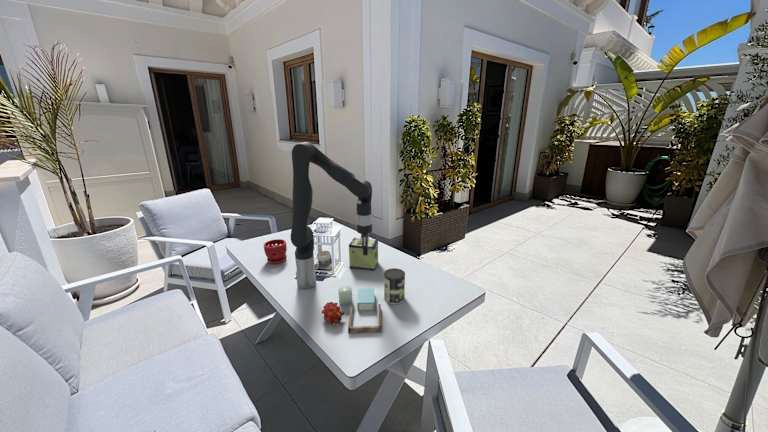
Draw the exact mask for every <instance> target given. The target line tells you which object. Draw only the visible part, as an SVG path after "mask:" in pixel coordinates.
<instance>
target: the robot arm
mask: <svg viewBox="0 0 768 432" xmlns="http://www.w3.org/2000/svg"><path fill="white" fill-rule="evenodd" d="M291 161H292V163H291V164H292V222H291V228H290V229H291V230H290V242H291V244H292V245H293V246H294V247H296V249H295V251H294V257H295V258H294V259H295V266H296V270H295V277H296V285H297V289H302V290H311V289H312V288H314V287H315V286H316V285H317V276H316V270H315V269H316V267H315V257H314V251H315V239H314V232H313V230H312V228H311V227H310V226H309V225H308V221H309V217H310V214H311V209H312V206H313V194H314V191H313V186H312V183H311V180H310V174H309V173H310V172H309V171H310V163H311V164H314V165H316V166H318V167H319V168H320V169H322V170H323V171H324V172H325V173H326V174H327V175H328V176H329V177H330V178H331V179H332V180H334V181H335V182H337V183H338V184H339V185H341V186H343V187H345V188H346V189H347V190H348V191H349V192H350V193H351V194H352V195H354V196H355V197H357V202H356V232H357V233H358V234H360V238H361V243H362V249H363V255H368V244H369V239H370V234H371V233H372V232H373V215H372V199H373V198H372V197H373V187H372V184H371V182H369V181H368V180H365V179H363V180H358V179H357V178H356V177H355V175H354V173H353V172H351V171H349V170H348V169H346V168H344V167H343V166H341V165H339V164H338V163H337V162H335V161H334V160H332V159H331V158H329V156H327V155H326V154H324V152H322V151H321V150H320V149H319V148H318V147H317V146H315V145H314V144H313V143H311V142H309V141H303V142H298V143H296V144H295V145H294V146H293V147H292V149H291Z"/></svg>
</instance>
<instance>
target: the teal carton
mask: <svg viewBox="0 0 768 432" xmlns="http://www.w3.org/2000/svg"><path fill="white" fill-rule="evenodd" d="M356 305H357V306H356V307H357V308H356V309H357V311H375V307H376V305H375V287H358V288H357V304H356Z"/></svg>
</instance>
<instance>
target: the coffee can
mask: <svg viewBox="0 0 768 432" xmlns="http://www.w3.org/2000/svg"><path fill="white" fill-rule="evenodd" d="M405 276H406V272H405V271H404V270H403V269H400V268H388V269H386V270H385V271H384V272H383V282H384V283H383V292H384V293H383V294H384V295H383V299H384V301H385V303H388V304H390V305H399V304H402V303H403V302H404V301H405V289H406V288H405V286H406V285H405V284H406V280H405V279H406V277H405Z"/></svg>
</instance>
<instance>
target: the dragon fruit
mask: <svg viewBox="0 0 768 432" xmlns="http://www.w3.org/2000/svg"><path fill="white" fill-rule="evenodd" d="M338 305H339V302H333V301H330V302H326V304H325V305H323V309H322V310H321V314H323V319H324V321H325V322H326V321H327V322H329V323H331V325H332V324H333V325H337V322H338V323H339V322H342V319H343V316H344V314H345V311H343V310H342V308H341V306H338Z"/></svg>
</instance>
